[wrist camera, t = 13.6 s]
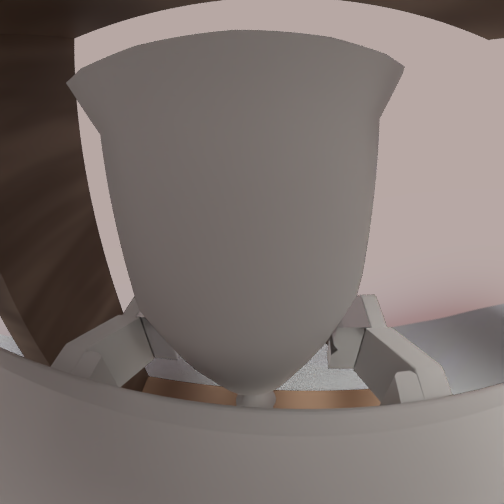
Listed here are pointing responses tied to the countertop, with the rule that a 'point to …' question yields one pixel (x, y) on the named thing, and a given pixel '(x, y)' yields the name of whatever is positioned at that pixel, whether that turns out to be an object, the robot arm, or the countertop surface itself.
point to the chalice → (242, 190)
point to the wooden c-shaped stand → (77, 191)
